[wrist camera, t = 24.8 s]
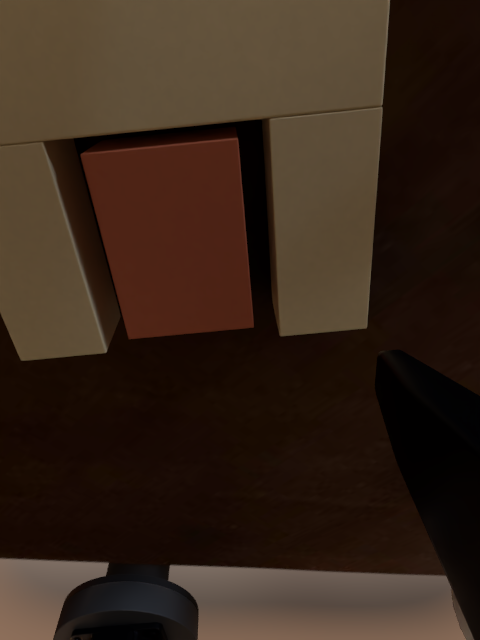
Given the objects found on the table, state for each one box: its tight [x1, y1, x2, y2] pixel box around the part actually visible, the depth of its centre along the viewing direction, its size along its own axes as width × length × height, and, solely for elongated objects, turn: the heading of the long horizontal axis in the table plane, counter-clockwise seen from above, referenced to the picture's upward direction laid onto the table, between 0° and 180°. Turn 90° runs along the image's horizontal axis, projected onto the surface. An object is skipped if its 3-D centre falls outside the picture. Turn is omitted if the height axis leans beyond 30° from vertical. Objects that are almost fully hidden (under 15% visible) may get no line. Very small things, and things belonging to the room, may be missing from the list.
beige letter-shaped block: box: [0, 0, 390, 361], centre depth 15 cm, size 16×14×3 cm
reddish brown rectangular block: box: [80, 127, 254, 339], centre depth 17 cm, size 7×5×3 cm
